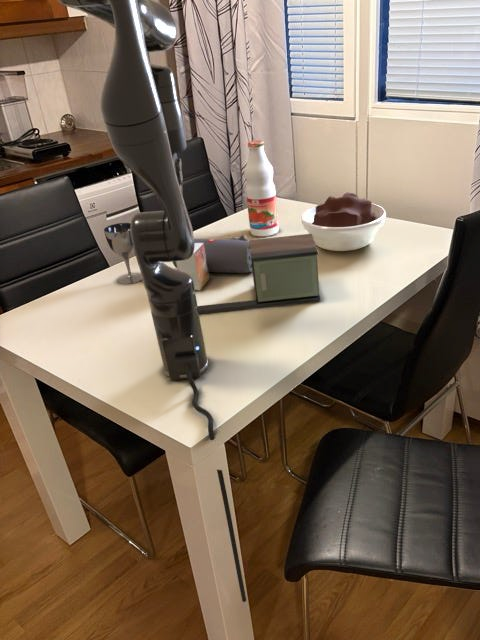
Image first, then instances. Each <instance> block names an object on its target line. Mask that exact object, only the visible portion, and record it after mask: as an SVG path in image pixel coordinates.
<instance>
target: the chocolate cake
mask: <svg viewBox="0 0 480 640" xmlns="http://www.w3.org/2000/svg"><path fill="white" fill-rule="evenodd" d="M386 219H387V212H386V210H385V208H383V207H382V206H381V205H378V204H375V203H373V202H372V201H371V200H369V199H366V198H360V197H359V196H358V195H357V194H355V193H353V192H346V193H344V194H343V195H342V196H339V197H335V196H332V195H329V196H328V197H327V198H326V200H325V202H324V203H323V204H322V203H321V204H317V205H315V206H312V207H310V208H308V209H307V210H305V211H304V212H303V213H302V214H301V216H300V224H301V225H302V227H303V229H304V230H305V231H306V233H307V234H312V236H313V239H314V242H315V245H316V246H318V247H319V248H321V249H324V250H328V251H332V252H333V251H335V252H347V251H354V250H359V249H362V248H364V247H366V246H368V245H370V244H371V243H372V242H373V241H374V239H375V237H376V234H377V233H378V231H379V230H380V229H381V228H382V227H383V225H385V221H386Z"/></svg>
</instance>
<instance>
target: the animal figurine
mask: <svg viewBox="0 0 480 640" xmlns="http://www.w3.org/2000/svg"><path fill="white" fill-rule="evenodd" d="M229 239H230V240H243V241H249V240H247V237H246V236H245V234H244V233H243V234H241V235H240V236H239V237H237V236H231V238H229Z"/></svg>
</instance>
